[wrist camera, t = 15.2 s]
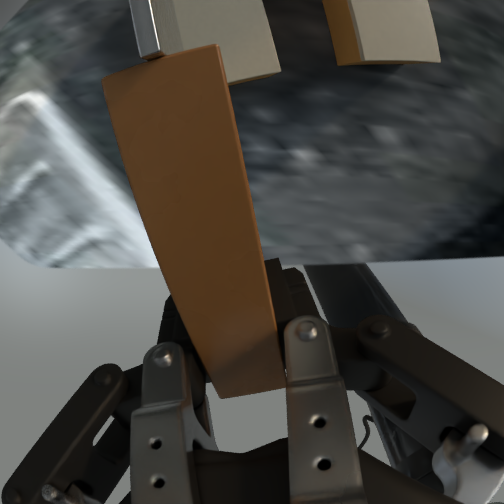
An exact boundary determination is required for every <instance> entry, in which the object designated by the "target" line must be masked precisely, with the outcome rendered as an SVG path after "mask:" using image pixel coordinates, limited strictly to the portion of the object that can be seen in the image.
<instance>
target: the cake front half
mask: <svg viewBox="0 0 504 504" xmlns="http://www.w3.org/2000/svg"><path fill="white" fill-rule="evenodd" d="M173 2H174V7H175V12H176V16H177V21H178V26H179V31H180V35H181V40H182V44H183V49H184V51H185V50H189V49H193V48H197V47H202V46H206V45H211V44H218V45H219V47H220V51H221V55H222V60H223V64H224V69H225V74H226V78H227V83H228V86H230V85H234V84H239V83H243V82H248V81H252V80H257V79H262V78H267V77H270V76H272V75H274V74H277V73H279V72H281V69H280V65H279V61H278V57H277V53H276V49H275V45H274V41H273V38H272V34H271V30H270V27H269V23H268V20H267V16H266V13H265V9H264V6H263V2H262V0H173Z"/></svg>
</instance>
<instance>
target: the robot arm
mask: <svg viewBox="0 0 504 504" xmlns="http://www.w3.org/2000/svg"><path fill="white" fill-rule="evenodd" d="M264 263H265V268H266V273H267V278H268V283H269V288H270V294H271V299H272V304H273V309H274V314H275V319H276V325H277V330H278V335H279V340H280V345H281V351H282V356H283V361H284V366H285V369H286V372H287V373H286V374H287V384H286V404H287V426H288V437H287V438H282V439H278V440H276V441H274V442H271V443H269V444H266V445H264V446H261V447H259V448H256V449H254V450H251V451H249V452H245V453H232V452H224V451H219V450H218V447H217V445H216V442H215V438H214V432H213V426H212V420H211V414H210V408H209V402H208V397H207V395H206V383H210V382H211V380H210V378H209V376H208V374H207V372H206V370H205V368H204V366H203V364H202V362H201V360H200V358H199V356H198V354H197V352H196V350H195V347H194V345H193V343H192V341H191V339H190V337H189V334H188V332H187V330H186V328H185V326H184V323H183V321H182V319H181V317H180V314H179V312H178V310H177V308H176V305H175V303H174V301H173V298H172V296H171V294H170V296H169V297H168V299H167V300H166V301H165V306H164V312H163V316H162V321H161V326H160V331H159V336H158V341H157V345H155V346H153V347H152V348H151V349H150V350H148V352H147V353H146V354H145V356H144V359H143V364H141V365H139V366H136V367H134V368H131V369H129V370H126V371H122V370H121V368H120V367H119V366H118V365H116V364H104V365H102V366H99V367H98V368H96V369H95V370H94V371H93V372H92V373H91V374H90V375H89V376H88V378H87V379H86V380H85V381H84V383H83V384H82V385H81V386H80V388H79V389H78V390H77V391H76V392H75V394H74V395H73V396H72V397H71V399H70V400H69V401H68V402H67V404H66V405H65V406H64V407H63V409H62V410H61V411H60V412H59V414H58V415H57V416H56V417H55V419H54V420H53V421H52V423H51V424H50V425H49V426H48V428H47V429H46V430H45V432H44V433H43V434H42V435H41V437H40V438H39V440H38V441H37V442H36V443H35V445H34V446H33V447H32V449H31V450H30V451H29V452H28V454H27V455H26V457H25V458H24V459H23V461H22V462H21V463H20V465H19V466H18V467H17V469H16V470H15V472H14V473H13V475H12V476H11V477H10V478H9V480H8V481H7V483H6V484H5V486H4V488H3V490H2V497H1V498H2V504H104V503H105V502H106V500H107V499H108V497H109V496H110V494H111V493H112V491H113V490H114V488H115V487H116V485H117V484H118V482H119V481H120V479H121V478H122V476H123V475H124V473H125V472H126V470H127V468H128V467H129V465H130V481H131V491H130V492H129V493H128V494H127V495H126V496H125V497H124V499H123V500H122V501H121V502H120V503H119V504H504V503H500V502H494V503H489V502H490V501H491V499H492V498H493V496H494V495H495V494H496V492H497V491H498V489H499V488H500V486H501V485H502V483H503V482H504V385H502V384H501V383H499V382H498V381H496V380H494V379H492V378H491V377H490V376H487V375H486V374H484V373H483V372H481V371H480V370H478V369H476V368H475V367H473V366H471V365H470V364H468V363H467V362H465V361H463V360H462V359H460V358H458V357H457V356H455V355H453V354H452V353H450V352H448V351H447V350H445V349H444V348H442V347H440V346H438V345H437V344H435V343H433V342H432V341H430V340H428V339H427V338H425V337H424V336H422V335H420V334H419V333H417V332H415V331H414V330H412V329H410V328H409V327H407V326H405V325H403V324H402V323H400V322H398V321H397V320H395V319H393V318H391V317H389V316H386V315H372V316H369V317H366V318H365V319H363V320H362V321H361V322H360V323H359V324H358V326H357V328H338V327H334V326H331V325H329V324H328V323H327V322H326V321H325V320H324V319H322V318H321V316H320V315H319V312H318V310H317V307H316V305H315V302H314V300H313V297H312V295H311V292H310V291H309V288H308V285H307V283H306V280H305V278H304V275H303V273H301V272H300V271H299V270H297V269H296V268H295V267H293V268H289V269H284V270H282V267H281V264H280V261H279V258H275V259H270V260H265V261H264ZM346 390H354V391H355V392H356V393H357V394H358V395H359V396H360V397H361V398H363V399H364V400H365V401H366V402H367V404H368V407H369V409H370V412H371V416H369V415H365V416H364V417H363V424H364V426H365V429H366V435H365V438H364V440H363V441H362V443H361V444H360V445H359V447H357V445H356V439H355V433H354V428H353V422H352V417H351V412H350V407H349V402H348V397H347V392H346ZM110 415H111V416H112V417H114V420H113V421H112V423H111V424H110V426H109V427H108V428H107V430H106V431H105V433H104V434H103V435H102V437H101V438H100V440H99V441H98V442H97V444H96V445H95V446H93V440H94V437H95V436H96V435H97V433H98V432H99V430H100V429H101V428H102V426H103V425H104V424H105V422H106V421H107V419H108V418H109V417H110ZM367 420H369V421H371V422H374V423H375V425H376V427H377V430H378V432H379V435H380V438H381V440H382V443H383V445H384V448H385V451H386V453H387V456H388V459H389V461H390V464H391V467H390V466H389V465H387V464H385V463H384V462H382V461H380V460H378V459H376V458H375V457H373V456H372V455H370V454H368V453H366V452H365V451H363V450H361V448H362V447H363V446H364V444H365V443H366V441H367V440H368V438H369V435H370V428H369V425H368V422H367Z"/></svg>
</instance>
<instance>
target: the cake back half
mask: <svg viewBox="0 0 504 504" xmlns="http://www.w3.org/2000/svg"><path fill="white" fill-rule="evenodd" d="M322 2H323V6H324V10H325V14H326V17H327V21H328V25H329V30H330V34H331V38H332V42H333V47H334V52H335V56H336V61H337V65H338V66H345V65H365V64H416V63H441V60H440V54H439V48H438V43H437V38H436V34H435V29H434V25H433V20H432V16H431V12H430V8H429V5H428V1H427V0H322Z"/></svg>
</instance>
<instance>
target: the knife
mask: <svg viewBox="0 0 504 504" xmlns="http://www.w3.org/2000/svg"><path fill="white" fill-rule="evenodd" d="M128 1H129V7H130V12H131V17H132V23H133V28H134V33H135V38H136V42H137V47H138V52H139V57H140V58H142V59H145V60H147V62H144V63H141V64H138V65H135V66H132V67H129V68H127V69H124V70H121V71H118V72H116V73H113V74H111V75H108V76H105V77H104V78H103V79H102V81H101V83H102V87H103V91H104V95H105V99H106V103H107V107H108V111H109V115H110V119H111V123H112V126H113V130H114V133H115V137H116V141H117V144H118V147H119V151H120V154H121V158H122V161H123V164H124V167H125V171H126V174H127V177H128V180H129V183H130V186H131V189H132V192H133V195H134V198H135V201H136V204H137V207H138V210H139V213H140V216H141V219H142V221H143V224H144V227H145V230H146V232H147V235H148V238H149V241H150V243H151V246H152V248H153V251H154V254H155V256H156V259H157V261H158V264H159V266H160V269H161V271H162V274H163V276H164V279H165V281H166V284H167V286H168V289H169V291H170V293H171V296H172V298H173V301H174V303H175V305H176V308H177V310H178V312H179V314H180V317H181V319H182V321H183V323H184V326H185V328H186V330H187V332H188V334H189V337H190V339H191V341H192V343H193V345H194V347H195V350H196V352H197V354H198V356H199V358H200V360H201V362H202V364H203V366H204V368H205V370H206V372H207V374H208V376H209V378H210V380H211V382H212V384H213V386H214V388H215V390H216V392H217V394H218V396H219V398H221V399H224V398H231V397H238V396H243V395H250V394H255V393H261V392H266V391H271V390H276V389H281V388H286V384H287V377H286V372H285V366H284V361H283V356H282V351H281V345H280V340H279V335H278V330H277V325H276V319H275V314H274V309H273V304H272V299H271V294H270V288H269V283H268V278H267V273H266V268H265V263H264V258H263V253H262V248H261V243H260V238H259V233H258V228H257V223H256V218H255V213H254V208H253V203H252V198H251V193H250V188H249V183H248V179H247V174H246V169H245V164H244V159H243V154H242V149H241V145H240V140H239V135H238V130H237V126H236V121H235V116H234V111H233V107H232V102H231V97H230V92H229V88H228V83H227V78H226V74H225V69H224V64H223V60H222V55H221V51H220V47H219V45H218V44H211V45H206V46H202V47H197V48H193V49H189V50H185V51H184V49H183V44H182V40H181V35H180V31H179V26H178V21H177V16H176V12H175V7H174V2H173V0H128Z"/></svg>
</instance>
